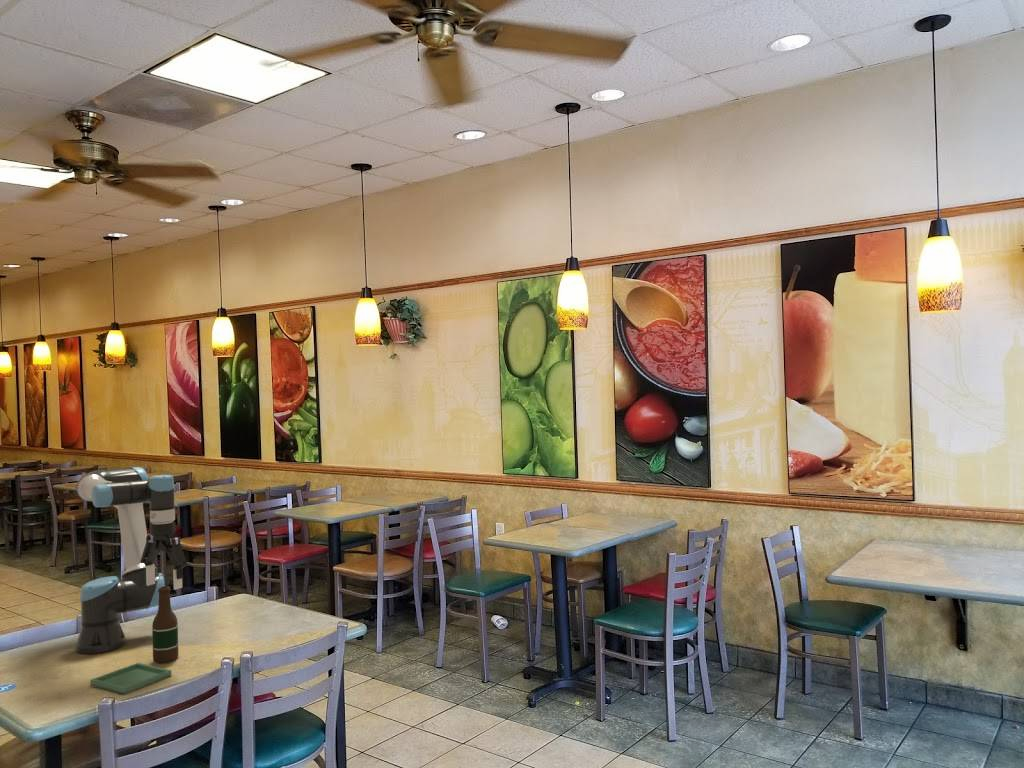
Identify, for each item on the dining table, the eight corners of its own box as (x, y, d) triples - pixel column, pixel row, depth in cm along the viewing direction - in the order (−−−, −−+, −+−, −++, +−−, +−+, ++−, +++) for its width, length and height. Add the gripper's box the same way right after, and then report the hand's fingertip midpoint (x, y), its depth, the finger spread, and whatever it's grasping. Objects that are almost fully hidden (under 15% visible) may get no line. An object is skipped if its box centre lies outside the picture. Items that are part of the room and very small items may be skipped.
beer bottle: (168, 664, 252) (167, 590, 252) (147, 663, 253) (145, 590, 253) (183, 656, 260) (181, 584, 260) (162, 655, 261) (161, 584, 261)
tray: (90, 685, 235) (90, 679, 235) (138, 668, 249) (138, 662, 249) (124, 694, 228) (124, 688, 228) (171, 676, 242) (171, 670, 242)
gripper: (128, 522, 259) (129, 585, 259) (178, 526, 247) (179, 593, 247) (148, 518, 266) (149, 580, 266) (197, 522, 254) (199, 587, 254)
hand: (164, 586), depth 256 cm, fingers open, 13 cm apart
